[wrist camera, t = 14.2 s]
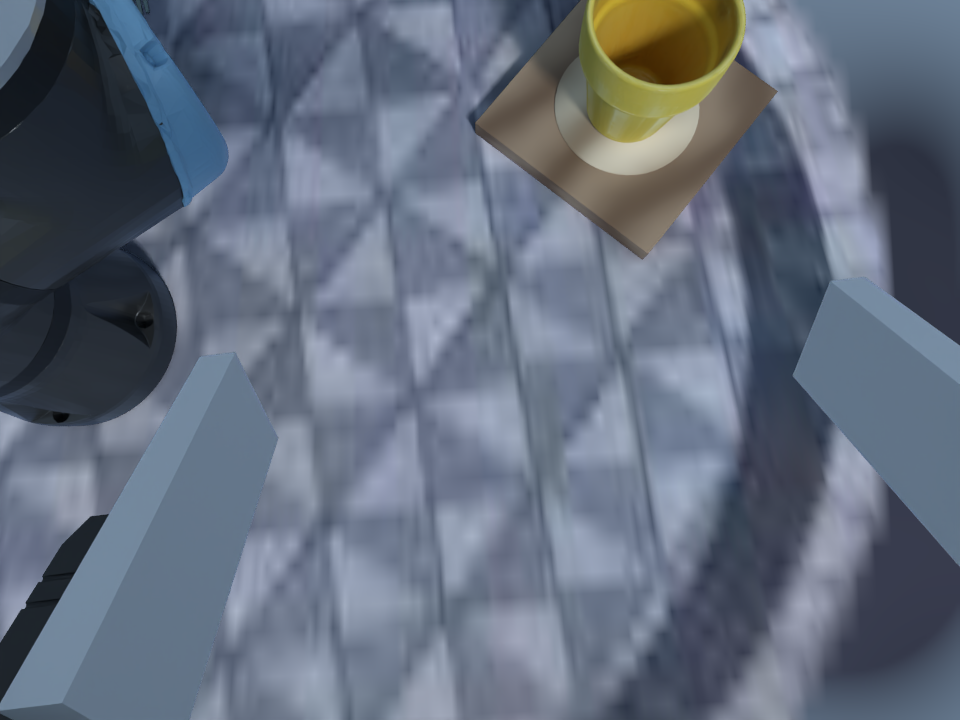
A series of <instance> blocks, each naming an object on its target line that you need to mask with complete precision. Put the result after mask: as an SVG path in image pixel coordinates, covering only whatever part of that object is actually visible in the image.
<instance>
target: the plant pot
mask: <svg viewBox="0 0 960 720" xmlns="http://www.w3.org/2000/svg"><path fill="white" fill-rule="evenodd" d="M745 26H746V14H745V7H744V3H743V0H587V3H586V7H585V12H584V16H583V21H582V26H581V32H580V39H579V58H580V63H581V67H582V70H583V73H584V75H585V78H586V88H587V113H588V116H589V119H590V121H591V123H592V124H593V126H594V127H595V128H596V129H597V131H599V132H600V133H601V134H602V135H604V136H605V137H607V138H609V139H611V140H614V141H617V142H622V143H634V142H639V141H642V140H644V139H647V138H649V137H650V136H652V135H653V134H655V133H656V132H657V131H658V130H659V129H660V128H662V127H663V126H664V125H665V124H666V123H667V122H668V121H669V120H670V119H672V118H673V117H674V116H675V115H677V114H680V113H683V112H685V111H687V110H689V109H691V108H692V107H694V106H696V105H697V104H698V103H700V102H701V101H702V100H703V99H704V98H705V97H706V96H707V95H708V94H709V93H710V92H711V91H712V90H713V88H714V87H715V86H716V85H717V83H718V82H719V81H720V79H721V78H722V77H723V75H724V74H725V72H726V71H727V69H728V68H729V66H730V65H731V63H732V62H733V60H734V59H735V57H736V55H737V53H738V51H739V49H740V47H741V44H742V41H743V38H744V33H745Z"/></svg>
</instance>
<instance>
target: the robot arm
mask: <svg viewBox="0 0 960 720" xmlns="http://www.w3.org/2000/svg"><path fill="white" fill-rule="evenodd" d="M227 163H228V148H227V145H226V142H225V140H224V138H223V136H222V134H221V133H220V131H219V129H218V128H217V126H216V124H215V123H214V121H213V120H212V118H211V117H210V115H209V114H208V112H207V110H206V109H205V107H204V106H203V104H202V103H201V101H200V100H199V98H198V97H197V95H196V94H195V92H194V91H193V89H192V88H191V86H190V85H189V83H188V82H187V80H186V79H185V78H184V76H183V75H182V73H181V72H180V70H179V69H178V67H177V66H176V64H175V63H174V62H173V60H172V59H171V57H170V56H169V55H168V54H167V52H166V51H165V49H164V48H163V46H162V44H161V42H160V41H159V40H158V38H157V37H156V35H155V34H154V32H153V31H152V30H151V28H150V27H149V25H148V23H147V21H146V20H145V19H144V17H143V16H142V14H141V13H140V11H139V10H138V8H137V7H136V5H135V4H134V2H133V1H132V0H0V411H1V412H4V413H6V414H9V415H12V416H14V417H17V418H20V419H22V420H25V421H28V422H31V423H36V424H41V425H48V426H86V425H94V424H99V423H102V422H106V421H109V420H112V419H114V418H117V417H119V416H121V415H123V414H125V413H126V412H128V411H130V410H131V409H133V408H134V407H135V406H137V405H138V404H139V403H141V402H142V401H143V400H144V399H145V398H146V397H147V396H148V395H149V394H150V393H151V392H152V391H153V389H154V388H155V387H156V386H157V384H158V383H159V382H160V380H161V379H162V377H163V375H164V373H165V372H166V370H167V368H168V365H169V363H170V360H171V358H172V355H173V351H174V347H175V342H176V330H177V325H176V314H175V309H174V305H173V302H172V299H171V296H170V294H169V292H168V289H167V288H166V286H165V284H164V283H163V281H162V280H161V278H160V277H159V276H158V274H157V273H156V272H155V271H154V270H153V269H152V268H151V267H150V266H149V265H147V264H146V263H145V262H143V261H142V260H140V259H139V258H137V257H135V256H134V255H132V254H130V253H127V252H125V251H123V250H121V249H119V248H121V247H122V246H124V245H125V244H127V243H128V242H130V241H131V240H133V239H135V238H136V237H138V236H139V235H141V234H142V233H144V232H145V231H147V230H148V229H150V228H151V227H153V226H154V225H156V224H157V223H159V222H160V221H162V220H163V219H165V218H166V217H168V216H169V215H171V214H172V213H174V212H175V211H177V210H179V209H180V208H182V207H185V206H187V205H189V203H190V202H191V201H192V197H194V196H195V195H196V194H197V193H199V192H200V191H201V190H202V189H204V188H205V187H206V186H207V185H209V184H210V183H211V182H212V181H214V180H215V179H216V178H217V177H219V176H220V175H221V174H222V173H223V171H224V170H225V168H226V165H227ZM793 377H794V378H795V379H796V380H797V381H798V382H799V384H800V385H801V386H802V387H803V388H804V389H805V390H806V392H807V393H808V394H809V395H810V396H811V397H812V398H813V400H814V401H815V402H816V403H817V404H818V405H819V406H820V408H821V409H822V410H823V411H824V412H825V413H826V414H827V416H828V417H829V418H830V419H831V420H832V421H833V422H834V424H835V425H836V426H837V427H838V428H839V429H840V430H841V432H842V433H843V434H844V435H845V436H846V437H847V438H848V440H849V441H850V442H851V443H852V444H853V445H854V446H855V448H856V449H857V450H858V451H859V452H860V453H861V454H862V456H863V457H864V458H865V459H866V460H867V461H868V462H869V464H870V465H871V466H872V467H873V468H874V469H875V470H876V472H877V473H878V474H879V475H880V476H881V477H882V478H883V480H884V481H885V482H886V483H887V484H888V485H889V486H890V488H891V489H892V490H893V491H894V492H895V493H896V494H897V496H898V497H899V498H900V499H901V500H902V501H903V502H904V504H905V505H907V507H908V508H909V509H910V510H911V512H912V513H913V514H914V515H915V516H916V517H917V518H918V520H919V521H920V522H921V523H922V524H923V525H924V526H925V527H926V529H927V530H928V531H929V532H930V533H931V534H932V536H933V537H934V538H935V539H936V540H937V541H938V542H939V544H940V545H941V546H942V547H943V548H944V549H945V550H946V551H947V553H948V554H949V555H950V556H951V557H952V558H953V560H954V561H955V562H956V563H957V564H958V565H959V566H960V346H959V345H958V344H956V343H955V342H954V341H952V340H951V339H950V338H948V337H947V336H945V335H944V334H943V333H941V332H940V331H939V330H937V329H936V328H934V327H933V326H932V325H930V324H929V323H927V322H926V321H925V320H923V319H922V318H921V317H919V316H918V315H916V314H915V313H914V312H912V311H911V310H910V309H908V308H907V307H906V306H904V305H903V304H901V303H900V302H899V301H897V300H896V299H895V298H893V297H892V296H890V295H889V294H888V293H886V292H885V291H884V290H882V289H881V288H879V287H878V286H877V285H875V284H874V283H873V282H871V281H870V280H868V279H867V278H866V277H860V278H851V279H843V280H835V281H830V283H829V286H828V288H827V291H826V293H825V296H824V298H823V301H822V303H821V306H820V308H819V311H818V313H817V316H816V318H815V321H814V323H813V326H812V329H811V331H810V334H809V336H808V339H807V341H806V344H805V346H804V349H803V351H802V354H801V356H800V359H799V361H798V364H797V366H796V369H795V371H794V374H793ZM277 440H278V436H277V434H276V432H275V430H274V428H273V426H272V424H271V422H270V420H269V418H268V416H267V414H266V412H265V410H264V409H263V407H262V405H261V403H260V401H259V399H258V397H257V395H256V393H255V391H254V389H253V387H252V385H251V383H250V381H249V379H248V377H247V375H246V373H245V371H244V369H243V367H242V365H241V363H240V361H239V359H238V357H237V355H236V353H235V352H233V353H225V354H216V355H208V356H200V358H199V359H198V361H197V363H196V365H195V366H194V368H193V370H192V372H191V373H190V375H189V377H188V379H187V380H186V382H185V384H184V385H183V387H182V389H181V391H180V392H179V394H178V396H177V398H176V399H175V401H174V403H173V405H172V406H171V408H170V410H169V411H168V413H167V415H166V417H165V418H164V420H163V422H162V424H161V425H160V427H159V429H158V431H157V432H156V434H155V436H154V437H153V439H152V441H151V443H150V444H149V446H148V448H147V450H146V451H145V453H144V455H143V456H142V458H141V460H140V462H139V463H138V465H137V467H136V469H135V470H134V472H133V474H132V476H131V477H130V479H129V481H128V482H127V484H126V486H125V488H124V489H123V491H122V493H121V495H120V496H119V498H118V500H117V502H116V503H115V505H114V507H113V508H112V510H111V512H110V514H107V515H99V516H91V517H90V518H89V519H88V520H87V521H85V522H84V523H83V524H82V525H81V526H80V527H79V528H78V529H77V530H76V531H75V532H74V533H73V534H72V535H71V536H70V537H69V538H68V539H67V540H66V541H65V542H64V543H63V544H62V545H61V547H60V549H59V550H58V552H57V553H56V555H55V557H54V558H53V560H52V561H51V563H50V565H49V566H48V568H47V569H46V571H45V573H44V574H43V576H42V577H43V580H42V582H38V584H37V585H36V587H35V588H34V590H33V592H32V593H31V595H30V596H29V598H28V600H27V601H26V608H25V609H21V611H20V612H19V614H18V616H17V617H16V619H15V620H14V622H13V623H12V625H11V627H10V628H9V630H8V631H7V633H6V635H5V636H4V638H3V639H2V641H1V643H0V720H189V719H190V716H191V713H192V710H193V707H194V704H195V700H196V697H197V694H198V691H199V688H200V684H201V681H202V678H203V675H204V672H205V669H206V665H207V662H208V659H209V656H210V653H211V650H212V646H213V643H214V640H215V637H216V634H217V631H218V627H219V624H220V621H221V618H222V615H223V612H224V608H225V605H226V602H227V599H228V596H229V593H230V589H231V586H232V583H233V580H234V577H235V574H236V570H237V567H238V564H239V561H240V558H241V555H242V551H243V548H244V545H245V542H246V539H247V536H248V532H249V529H250V526H251V523H252V520H253V517H254V513H255V510H256V507H257V504H258V501H259V497H260V494H261V491H262V488H263V485H264V482H265V478H266V475H267V472H268V469H269V466H270V463H271V459H272V456H273V453H274V450H275V447H276V444H277Z"/></svg>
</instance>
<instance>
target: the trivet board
mask: <svg viewBox="0 0 960 720" xmlns="http://www.w3.org/2000/svg"><path fill="white" fill-rule="evenodd" d="M586 3H587V0H580V2H579V3H578V4H577V5H576V6H575V7H574V9H573V10H572V11H571V12H570V13H569V14H568V16H567V17H566V18H565V19H564V20H563V21H562V23H561V24H560V25H559V26H558V27H557V28H556V29H555V31H554V32H553V33H552V34H551V35H550V36H549V38H548V39H547V40H546V41H545V42H544V43H543V45H542V46H541V47H540V48H539V49H538V50H537V52H536V53H535V54H534V55H533V56H532V57H531V59H530V60H529V61H528V62H527V63H526V64H525V66H524V67H523V68H522V69H521V70H520V71H519V73H518V74H517V75H516V76H515V77H514V78H513V80H512V81H511V82H510V83H509V84H508V85H507V87H506V88H505V89H504V90H503V91H502V92H501V94H500V95H499V96H498V97H497V98H496V99H495V101H494V102H493V103H492V104H491V105H490V106H489V108H488V109H487V110H486V111H485V112H484V113H483V115H482V116H481V117H480V118H479V119H478V120H477V121H476V123H475V132H476V134H477V135H479V136H480V137H481V138H483V139H484V140H485V141H487V142H488V143H489V144H491V145H492V146H493V147H495V148H496V149H497V150H499V151H500V152H501V153H502V154H504V155H505V156H506V157H508V158H509V159H510V160H512V161H513V162H514V163H516V164H517V165H518V166H520V167H521V168H522V169H524V170H525V171H526V172H528V173H529V174H530V175H531V176H533V177H534V178H535V179H537V180H538V181H539V182H541V183H542V184H543V185H545V186H546V187H547V188H549V189H550V190H551V191H553V192H554V193H555V194H557V195H558V196H559V197H561V198H562V199H563V200H564V201H566V202H567V203H568V204H570V205H571V206H572V207H574V208H575V209H576V210H578V211H579V212H580V213H582V214H583V215H584V216H586V217H587V218H588V219H590V220H591V221H592V222H593V223H595V224H596V225H597V226H599V227H600V228H601V229H603V230H604V231H605V232H607V233H608V234H609V235H611V236H612V237H613V238H615V239H616V240H617V241H619V242H620V243H621V244H622V245H624V246H625V247H626V248H628V249H629V250H630V251H632V252H633V253H634V254H636V255H637V256H638V257H640V258H641V259H642V260H643V259H644V258H645V257H646V256H647V255H648V253H649V252H650V251H651V250H652V248H653V247H654V246H655V245H656V243H657V242H658V241H659V240H660V238H661V237H662V236H663V235H664V233H665V232H666V231H667V230H668V228H669V227H670V226H671V225H672V223H673V222H674V221H675V220H676V218H677V217H678V216H679V215H680V213H681V212H682V211H683V210H684V208H685V207H686V206H687V205H688V203H689V202H690V201H691V199H692V198H693V197H694V196H695V194H696V193H697V192H698V191H699V189H700V188H701V187H702V186H703V184H704V183H705V182H706V181H707V179H708V178H709V177H710V176H711V174H712V173H713V172H714V171H715V169H716V168H717V167H718V166H719V164H720V163H721V162H722V161H723V159H724V158H725V157H726V156H727V154H728V153H729V152H730V151H731V149H732V148H733V147H734V146H735V144H736V143H737V142H738V141H739V139H740V138H741V137H742V136H743V134H744V133H745V132H746V131H747V129H748V128H749V127H750V126H751V124H752V123H753V122H754V120H755V119H756V118H757V117H758V115H759V114H760V113H761V112H762V110H763V109H764V108H765V107H766V105H767V104H768V103H769V102H770V100H771V99H772V98H773V97H774V95H775V94H776V93H777V92H778V91H777V90H775V89H774V88H772V87H771V86H770V85H768V84H767V83H765V82H764V81H762V80H761V79H760V78H758V77H757V76H755V75H754V74H753V73H751V72H750V71H748V70H747V69H745V68H744V67H743V66H741V65H740V64H738V63H737V62H736V61H734V60H733V62H732V63H731V65H730V66H729V68H728V69H727V71H726V72H725V74H724V75H723V77H722V78H721V79H720V81H719V82H718V83H717V85H716V86H715V87H714V88H713V90H712V91H711V92H710V93H709V94H708V95H707V96H706V97H705V98H704V99H703V100H702V101H701V102H700V103H698V104H697V105H696V106H694V107H692V108H691V109H689V110H687V111H685V112H683V113H680V114H677V115H675V116H674V117H673V118H672V119H670V120H669V121H668V122H667V123H666V124H665V125H664V126H663V127H662V128H660V129H659V130H658V131H657V132H656V133H655V134H653V135H652V136H650V137H649V138H647V139H644V140H642V141H639V142H634V143H622V142H617V141H614V140H611V139H609V138H607V137H605V136H604V135H602V134H601V133H600V132H599V131H597V129H596V128H595V127H594V126H593V124H592V123H591V121H590V119H589V116H588V113H587V88H586V78H585V75H584V73H583V70H582V67H581V63H580V58H579V39H580V32H581V26H582V21H583V16H584V12H585V7H586Z"/></svg>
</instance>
